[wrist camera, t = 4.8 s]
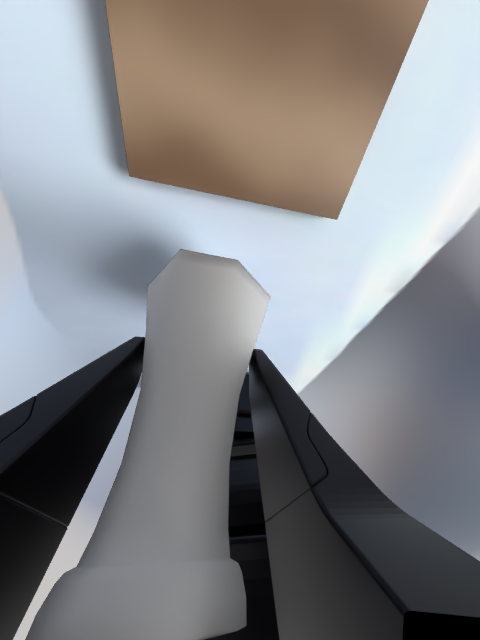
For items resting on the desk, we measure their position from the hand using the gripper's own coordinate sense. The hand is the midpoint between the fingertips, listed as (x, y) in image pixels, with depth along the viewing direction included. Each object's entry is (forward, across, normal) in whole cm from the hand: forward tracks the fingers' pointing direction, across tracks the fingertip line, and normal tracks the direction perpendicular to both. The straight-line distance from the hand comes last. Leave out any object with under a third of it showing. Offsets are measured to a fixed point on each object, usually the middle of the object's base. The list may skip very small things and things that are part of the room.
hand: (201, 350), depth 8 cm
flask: (+4, 0, 0) cm, 4 cm away
